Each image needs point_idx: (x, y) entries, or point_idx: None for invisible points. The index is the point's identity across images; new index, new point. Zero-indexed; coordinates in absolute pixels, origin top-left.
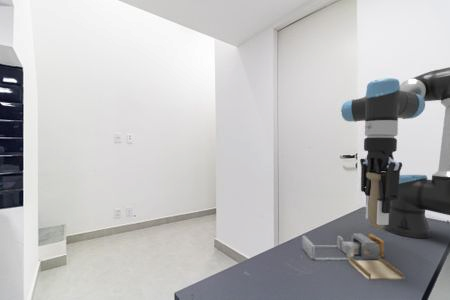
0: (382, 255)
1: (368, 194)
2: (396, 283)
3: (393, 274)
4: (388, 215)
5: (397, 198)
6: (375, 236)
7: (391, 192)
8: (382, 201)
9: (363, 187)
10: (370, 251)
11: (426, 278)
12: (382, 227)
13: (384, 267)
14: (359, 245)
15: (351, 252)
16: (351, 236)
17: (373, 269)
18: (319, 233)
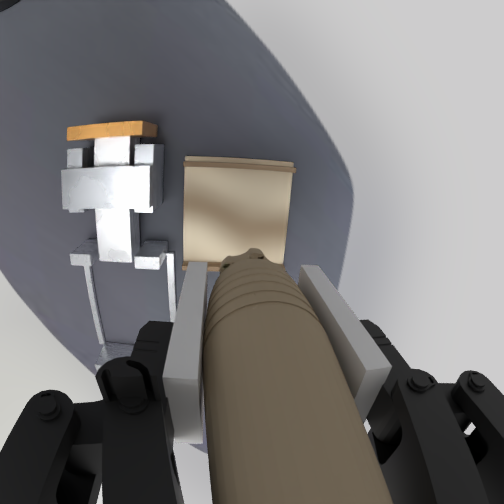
0: (156, 128)
1: (171, 444)
2: (306, 204)
3: (273, 182)
4: (337, 294)
5: (487, 380)
6: (92, 125)
7: (483, 450)
8: (369, 410)
9: (98, 492)
10: (157, 182)
11: (293, 92)
12: (280, 266)
13: (231, 178)
14: (128, 211)
15: (163, 257)
16: (69, 210)
17: (241, 224)
18: (3, 249)
